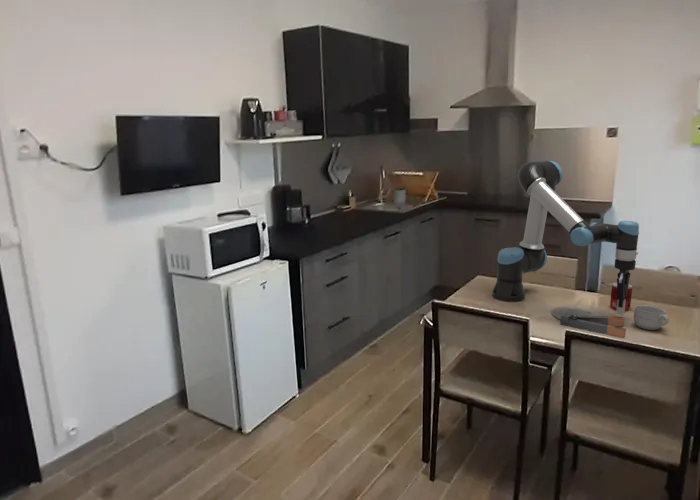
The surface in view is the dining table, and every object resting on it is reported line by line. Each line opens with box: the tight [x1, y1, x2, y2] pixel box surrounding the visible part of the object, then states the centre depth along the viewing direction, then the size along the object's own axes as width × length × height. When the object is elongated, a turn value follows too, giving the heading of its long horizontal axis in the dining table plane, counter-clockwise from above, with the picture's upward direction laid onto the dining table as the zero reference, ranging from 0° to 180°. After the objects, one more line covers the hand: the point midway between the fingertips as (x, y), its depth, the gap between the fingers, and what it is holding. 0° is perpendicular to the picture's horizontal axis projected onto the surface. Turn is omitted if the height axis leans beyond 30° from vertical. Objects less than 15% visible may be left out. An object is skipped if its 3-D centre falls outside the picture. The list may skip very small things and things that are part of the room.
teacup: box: [633, 304, 670, 331], centre depth 201 cm, size 14×11×8 cm
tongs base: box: [559, 311, 627, 338], centre depth 202 cm, size 24×6×4 cm, turn 50°
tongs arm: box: [571, 313, 625, 327], centre depth 206 cm, size 20×4×4 cm, turn 80°
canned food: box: [609, 282, 633, 312], centre depth 225 cm, size 8×8×11 cm
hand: (620, 313), depth 212 cm, fingers closed
